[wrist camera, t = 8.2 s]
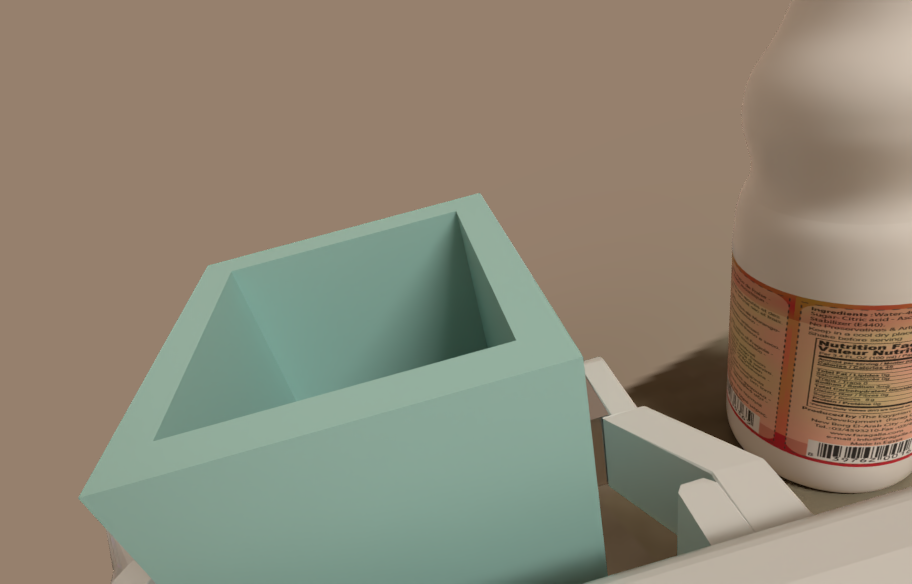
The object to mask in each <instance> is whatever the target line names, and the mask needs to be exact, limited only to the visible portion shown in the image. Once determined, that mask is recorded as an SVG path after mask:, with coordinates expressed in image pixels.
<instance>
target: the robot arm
mask: <svg viewBox="0 0 912 584" xmlns="http://www.w3.org/2000/svg"><path fill="white" fill-rule="evenodd" d="M584 369H585V378H586V387H587V396H588V405H589V414H590V422H591V431H592V440H593V449H594V458H595V467H596V476H597V485H598V486H602V485H606V484H609V486H610V487H611V488H612V489H614V490H615V491H617V492H618V493H619V494H621V495H622V496H623V497H625V498H626V499H628V500H629V501H630V502H632V503H633V504H635V505H636V506H637V507H639V508H640V509H642V510H643V511H644V512H646V513H647V514H648V515H650V516H651V517H653V518H654V519H655V520H657V521H658V522H660V523H661V524H662V525H664V526H665V527H666V528H668V529H669V530H671V531H672V532H673V533H675V534H676V535H678V536H677V556H674V557H671V558H667V559H664V560H661V561H657V562H654V563H651V564H647V565H644V566H640V567H637V568H634V569H630V570H627V571H623V572H620V573H617V574H613V575H610V576H607V577H603V578H600V579H596V580H593V581H590V582H586V583H583V584H912V486H911V487H908V488H905V489H901V490H898V491H894V492H891V493H888V494H884V495H881V496H878V497H874V498H871V499H867V500H864V501H861V502H857V503H854V504H850V505H847V506H844V507H840V508H837V509H834V510H830V511H827V512H823V513H820V514H817V515H813V514H812V513H811V512H810V511H809V510H808V509H807V507H806V506H805V505H804V504H803V503H802V502H801V501H800V499H799V498H798V497H797V496H796V495H795V494H794V493H793V491H792V490H791V489H790V488H789V487H788V486H787V485H786V484H785V482H784V481H783V480H782V479H781V478H780V477H779V476H778V474H777V473H776V472H775V471H774V470H773V469H772V468H771V467H770V465H769V464H768V463H767V462H766V461H765V460H764V459H763V458H760V457H758V456H756V455H754V454H751V453H749V452H747V451H745V450H742V449H740V448H738V447H736V446H733V445H731V444H729V443H727V442H724V441H722V440H720V439H718V438H715V437H713V436H711V435H709V434H706V433H704V432H702V431H700V430H697V429H695V428H693V427H691V426H688V425H686V424H684V423H682V422H679V421H677V420H675V419H673V418H670V417H668V416H666V415H664V414H661V413H659V412H657V411H655V410H652V409H650V408H648V407H646V406H642V407H639V408H637V407H636V405H635V404H634V402H633V401H632V399H631V398H630V396H629V395H628V394H627V392H626V391H625V389H624V388H623V386H622V385H621V384H620V382H619V381H618V379H617V378H616V376H615V375H614V373H613V372H612V371H611V369H610V368H609V366H608V365H607V363H606V362H605V361H604V359H603V358H601V357H595V358H592V359H589V360H585V361H584ZM111 584H156V583H155V582H154V581H153V580H152V579H151V578H150V576H149V575H148V574H147V573H146V572H145V571H144V570H143V569H142V568H141V567H140V565H139V564H138V563H137V562H136V561H135V560H133V561H132V562H131V563H130V564H129V565H128V566H127V567H126V568H125V569H124V570H123V571H122V572H121V573H120V574H119V575H118V576H117V578H116V579H115V580H114V581H113V582H112V583H111Z"/></svg>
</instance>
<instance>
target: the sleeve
mask: <svg viewBox="0 0 912 584" xmlns="http://www.w3.org/2000/svg"><path fill="white" fill-rule="evenodd" d="M79 500H80V501H81V502H82V503H83V504H84V505H85V506H86V507H87V508H88V510H89V511H90V512H91V513H92V514H93V515H94V516H95V517H96V518H97V519H98V520H99V521H100V523H101V524H102V525H103V526H104V527H105V528H106V529H107V530H108V531H109V533H110V534H111V535H112V536H113V537H114V538H115V539H116V540H117V541H118V542H119V544H120V545H121V546H122V547H123V548H124V549H125V550H126V551H127V552H128V553H129V555H130V556H131V557H132V558H133V559H134V560H135V561H136V562H137V563H138V564H139V565H140V567H141V568H142V569H143V570H144V571H145V572H146V573H147V574H148V575H149V576H150V578H151V579H152V580H153V581H154V582H155V583H156V584H583V583H586V582H590V581H593V580H596V579H600V578H603V577H607V576H608V574H607V565H606V556H605V547H604V538H603V530H602V521H601V512H600V503H599V494H598V485H597V476H596V467H595V458H594V449H593V440H592V431H591V422H590V414H589V405H588V396H587V387H586V378H585V369H584V360H583V356H582V354H581V352H580V351H579V349H578V348H577V346H576V345H575V343H574V342H573V340H572V338H571V337H570V335H569V334H568V332H567V330H566V329H565V328H564V326H563V324H562V323H561V321H560V319H559V318H558V316H557V315H556V313H555V311H554V310H553V308H552V306H551V305H550V303H549V302H548V300H547V299H546V297H545V295H544V294H543V292H542V291H541V289H540V287H539V286H538V284H537V283H536V281H535V280H534V278H533V276H532V275H531V273H530V272H529V270H528V269H527V267H526V265H525V264H524V262H523V260H522V259H521V257H520V256H519V254H518V253H517V251H516V249H515V248H514V247H513V245H512V243H511V241H510V240H509V238H508V237H507V235H506V234H505V232H504V230H503V229H502V227H501V226H500V224H499V222H498V221H497V219H496V218H495V216H494V215H493V213H492V211H491V210H490V208H489V207H488V205H487V203H486V202H485V201H484V199H483V197H482V196H481V194H480V193H478V194H475V195H470V196H467V197H463V198H459V199H456V200H452V201H449V202H445V203H441V204H437V205H433V206H429V207H426V208H422V209H418V210H415V211H411V212H407V213H404V214H399V215H396V216H392V217H388V218H384V219H381V220H377V221H373V222H369V223H366V224H362V225H358V226H354V227H351V228H347V229H343V230H340V231H336V232H332V233H329V234H325V235H321V236H317V237H313V238H310V239H306V240H303V241H299V242H295V243H291V244H287V245H283V246H280V247H276V248H272V249H268V250H265V251H261V252H257V253H253V254H250V255H246V256H242V257H238V258H235V259H231V260H227V261H224V262H220V263H216V264H212V265H209V266H207V268H206V270H205V272H204V274H203V276H202V278H201V279H200V281H199V283H198V284H197V286H196V288H195V290H194V292H193V294H192V295H191V297H190V299H189V300H188V302H187V304H186V306H185V308H184V310H183V311H182V313H181V315H180V317H179V318H178V320H177V322H176V324H175V326H174V327H173V329H172V331H171V333H170V335H169V336H168V338H167V340H166V342H165V344H164V345H163V347H162V349H161V351H160V352H159V354H158V356H157V358H156V360H155V362H154V363H153V365H152V367H151V369H150V370H149V372H148V374H147V376H146V378H145V379H144V382H143V383H142V385H141V386H140V388H139V390H138V392H137V394H136V396H135V397H134V399H133V401H132V403H131V404H130V406H129V408H128V410H127V412H126V413H125V415H124V417H123V419H122V420H121V422H120V424H119V426H118V428H117V430H116V431H115V433H114V435H113V437H112V439H111V440H110V442H109V444H108V446H107V447H106V449H105V451H104V453H103V455H102V456H101V458H100V460H99V462H98V464H97V465H96V467H95V469H94V471H93V473H92V474H91V476H90V478H89V480H88V481H87V483H86V485H85V487H84V489H83V490H82V492H81V494H80V496H79Z"/></svg>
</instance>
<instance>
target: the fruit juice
mask: <svg viewBox="0 0 912 584" xmlns="http://www.w3.org/2000/svg"><path fill="white" fill-rule="evenodd" d="M741 116H742V127H743V132H744V136H745V140H746V144H747V147H748V151H749V155H750V159H751V170H750V173H749V176H748V178H747V180H746V182H745V183H744V185H743V187H742V189H741V191H740V194H739V197H738V201H737V206H736V212H735V219H734V228H733V238H732V276H731V299H730V300H731V301H730V323H729V346H728V370H727V395H726V408H727V415H728V421H729V424H730V427H731V429H732V432H733V434H734V436H735V438H736V439H737V441H738V442H739V444H740V445H741V446H742V448H743V449H744V450H745V451H747V452H749V453H751V454H754V455H756V456H758V457H760V458H763V459H764V460H765V461H766V462H767V463H768V464H769V465H770V467H771V468H772V469H773V470H774V471H775V472H776V473H777V474H778V475H779V476H781V477H783V478H785V479H787V480H790V481H792V482H795V483H797V484H800V485H803V486H807V487H810V488H814V489H818V490H823V491H829V492H838V493H864V492H871V491H876V490H880V489H884V488H887V487H889V486H892V485H894V484H896V483H898V482H900V481H901V480H903V479H904V478H906V477H907V476H908V475H909V474H910V473H911V472H912V0H792V1H791V3H790V5H789V7H788V10H787V12H786V14H785V16H784V18H783V21H782V22H781V25H780V26H779V28H778V30H777V32H776V34H775V35H774V37H773V39H772V40H771V42H770V44H769V45H768V47H767V48H766V50H765V51H764V53H763V54H762V56H761V57H760V59H759V60H758V62H757V63H756V65H755V66H754V68H753V70H752V72H751V74H750V76H749V78H748V81H747V84H746V87H745V91H744V98H743V105H742V114H741Z"/></svg>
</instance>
